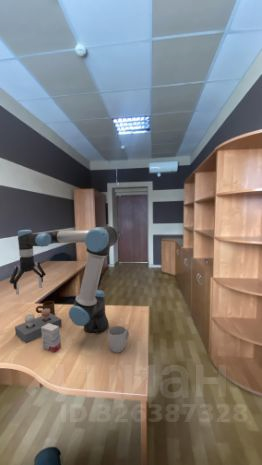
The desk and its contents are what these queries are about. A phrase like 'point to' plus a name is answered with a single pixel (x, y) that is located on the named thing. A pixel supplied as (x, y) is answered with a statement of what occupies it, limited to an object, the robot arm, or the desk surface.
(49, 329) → the ink box
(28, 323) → the grey plug
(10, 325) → the desk surface
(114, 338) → the mug
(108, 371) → the desk surface
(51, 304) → the mug
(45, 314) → the terracotta plug
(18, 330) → the panel
